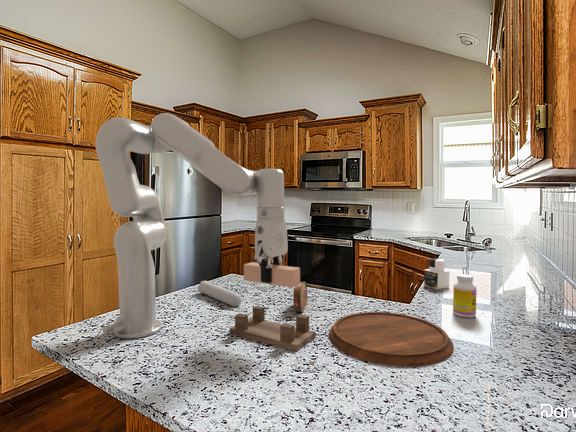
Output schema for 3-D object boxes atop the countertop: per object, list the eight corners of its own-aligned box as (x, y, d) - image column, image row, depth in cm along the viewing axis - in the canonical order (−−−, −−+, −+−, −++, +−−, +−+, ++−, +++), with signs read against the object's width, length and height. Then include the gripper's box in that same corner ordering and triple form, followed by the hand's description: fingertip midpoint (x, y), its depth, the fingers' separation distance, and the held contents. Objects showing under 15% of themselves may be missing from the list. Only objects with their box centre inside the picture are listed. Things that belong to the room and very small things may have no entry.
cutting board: (310, 326, 102) (310, 318, 102) (398, 313, 114) (398, 306, 114) (372, 379, 73) (372, 367, 72) (483, 354, 84) (483, 344, 84)
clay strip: (292, 287, 89) (292, 270, 89) (243, 280, 97) (243, 264, 97) (300, 284, 92) (299, 267, 92) (252, 277, 100) (252, 262, 100)
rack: (297, 351, 85) (297, 329, 85) (229, 333, 97) (229, 314, 96) (315, 337, 94) (315, 317, 93) (251, 322, 105) (251, 304, 105)
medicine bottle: (423, 285, 148) (424, 258, 148) (435, 283, 151) (436, 257, 151) (437, 289, 142) (437, 260, 141) (449, 287, 145) (450, 259, 144)
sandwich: (301, 315, 111) (301, 289, 111) (292, 314, 112) (292, 289, 111) (308, 301, 126) (308, 279, 126) (299, 301, 127) (299, 278, 126)
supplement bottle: (475, 319, 106) (476, 278, 106) (451, 316, 110) (452, 276, 109) (476, 313, 112) (477, 274, 111) (454, 310, 116) (455, 272, 115)
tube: (246, 294, 122) (211, 281, 141) (234, 292, 119) (200, 279, 137) (242, 309, 121) (207, 294, 140) (230, 308, 118) (196, 292, 136)
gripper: (264, 216, 85) (264, 289, 86) (297, 213, 99) (298, 276, 100) (240, 215, 89) (241, 285, 89) (275, 213, 103) (276, 273, 104)
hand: (271, 279), depth 95 cm, fingers closed on clay strip, 4 cm apart
